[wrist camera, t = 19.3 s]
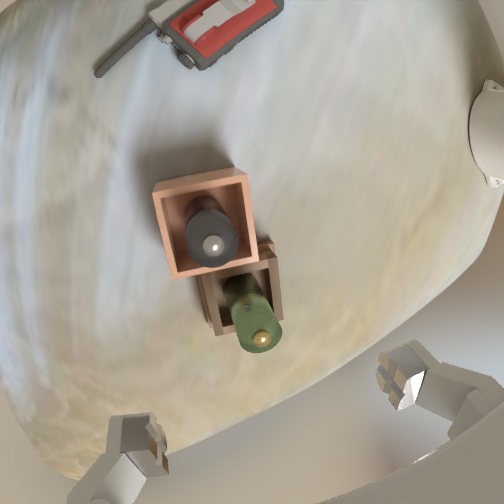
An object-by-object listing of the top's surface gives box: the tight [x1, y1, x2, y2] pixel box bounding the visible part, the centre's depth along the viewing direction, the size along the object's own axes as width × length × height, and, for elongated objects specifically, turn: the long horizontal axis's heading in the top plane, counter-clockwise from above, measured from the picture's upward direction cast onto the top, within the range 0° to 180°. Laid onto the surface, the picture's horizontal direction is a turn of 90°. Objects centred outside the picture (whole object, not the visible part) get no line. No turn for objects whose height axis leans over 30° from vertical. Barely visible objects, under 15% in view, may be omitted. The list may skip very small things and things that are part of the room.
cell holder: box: [197, 241, 283, 336], centre depth 35 cm, size 9×9×4 cm
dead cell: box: [184, 195, 239, 268], centre depth 28 cm, size 4×4×10 cm
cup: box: [152, 167, 259, 280], centre depth 30 cm, size 8×8×6 cm
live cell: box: [224, 273, 282, 353], centre depth 32 cm, size 4×4×10 cm
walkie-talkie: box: [94, 0, 284, 78], centre depth 24 cm, size 9×4×20 cm
